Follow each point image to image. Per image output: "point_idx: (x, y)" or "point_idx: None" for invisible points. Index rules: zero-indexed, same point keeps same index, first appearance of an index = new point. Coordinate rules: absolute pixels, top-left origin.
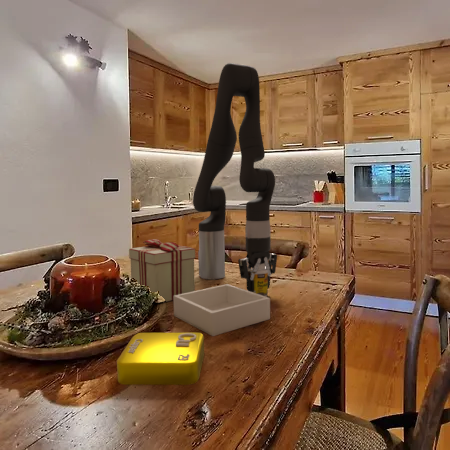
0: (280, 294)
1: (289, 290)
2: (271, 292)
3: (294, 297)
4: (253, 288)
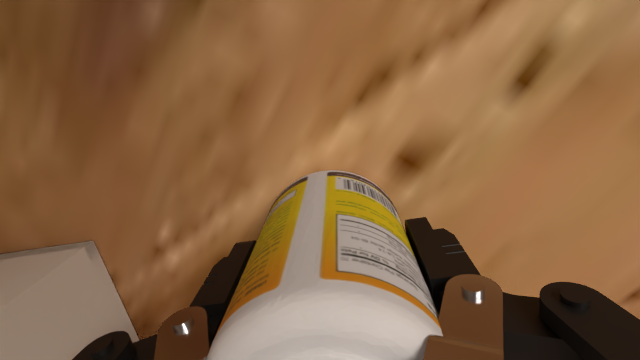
0: (484, 268)
1: (616, 226)
2: (467, 201)
3: None
4: None
